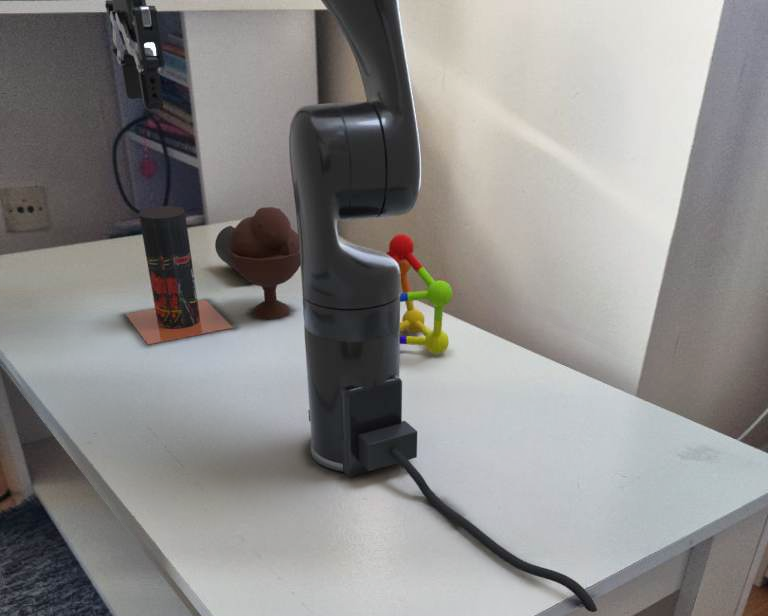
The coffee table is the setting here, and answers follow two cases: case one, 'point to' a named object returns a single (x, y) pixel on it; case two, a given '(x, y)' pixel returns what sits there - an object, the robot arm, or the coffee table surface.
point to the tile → (157, 334)
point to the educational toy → (420, 298)
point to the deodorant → (170, 266)
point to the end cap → (224, 243)
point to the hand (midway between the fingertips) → (144, 103)
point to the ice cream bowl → (266, 256)
